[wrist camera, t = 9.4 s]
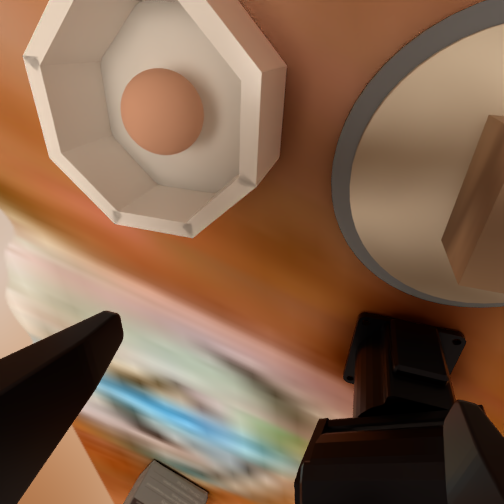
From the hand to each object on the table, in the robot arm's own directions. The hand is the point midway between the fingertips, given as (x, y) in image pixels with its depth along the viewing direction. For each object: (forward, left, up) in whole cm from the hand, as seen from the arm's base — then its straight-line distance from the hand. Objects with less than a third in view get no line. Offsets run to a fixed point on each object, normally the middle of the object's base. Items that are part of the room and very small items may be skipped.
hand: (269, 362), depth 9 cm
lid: (+2, -8, -12) cm, 15 cm away
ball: (+4, +8, -10) cm, 14 cm away
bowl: (+4, +8, -13) cm, 16 cm away
